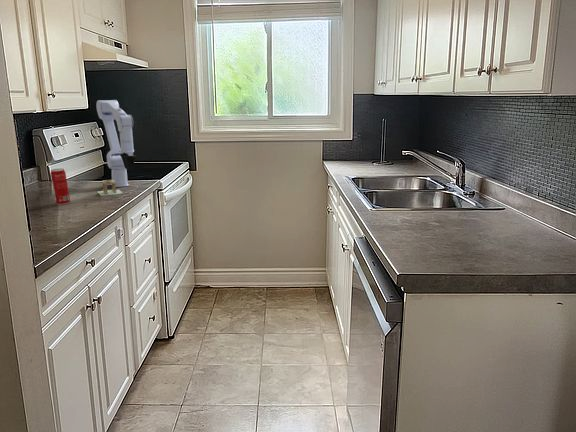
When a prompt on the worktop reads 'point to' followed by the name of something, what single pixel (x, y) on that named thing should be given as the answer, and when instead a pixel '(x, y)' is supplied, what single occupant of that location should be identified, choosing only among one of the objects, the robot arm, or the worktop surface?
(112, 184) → the stool
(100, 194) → the mat
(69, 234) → the worktop surface
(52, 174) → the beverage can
